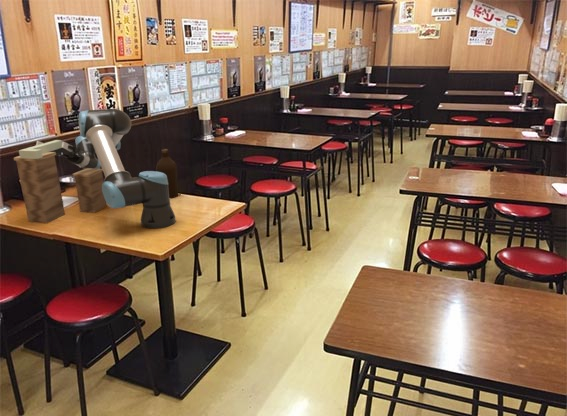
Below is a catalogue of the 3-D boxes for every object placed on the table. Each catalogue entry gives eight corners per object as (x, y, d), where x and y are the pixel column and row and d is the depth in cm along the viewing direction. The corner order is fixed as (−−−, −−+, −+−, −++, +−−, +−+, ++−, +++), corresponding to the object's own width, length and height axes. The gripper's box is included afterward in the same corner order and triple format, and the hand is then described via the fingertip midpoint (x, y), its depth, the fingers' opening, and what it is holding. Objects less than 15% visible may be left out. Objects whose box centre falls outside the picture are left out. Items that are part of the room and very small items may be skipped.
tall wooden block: (66, 214, 219) (55, 152, 209) (48, 223, 207) (35, 158, 197) (46, 212, 221) (34, 151, 212) (26, 222, 209) (13, 157, 200)
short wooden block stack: (108, 205, 230) (103, 168, 224) (95, 213, 220) (89, 174, 214) (92, 204, 232) (86, 168, 226) (78, 212, 222) (72, 173, 215)
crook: (56, 147, 221) (55, 140, 219) (72, 147, 219) (71, 140, 218) (20, 158, 198) (18, 150, 197) (37, 158, 197) (35, 151, 196)
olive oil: (176, 191, 251) (172, 146, 243) (181, 197, 242) (177, 150, 234) (157, 194, 247) (152, 148, 239) (161, 200, 238) (156, 152, 230)
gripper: (98, 165, 231) (72, 152, 210) (55, 163, 236) (25, 150, 215) (101, 151, 232) (75, 136, 212) (57, 149, 237) (28, 135, 217)
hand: (49, 143), depth 213 cm, fingers open, 13 cm apart
